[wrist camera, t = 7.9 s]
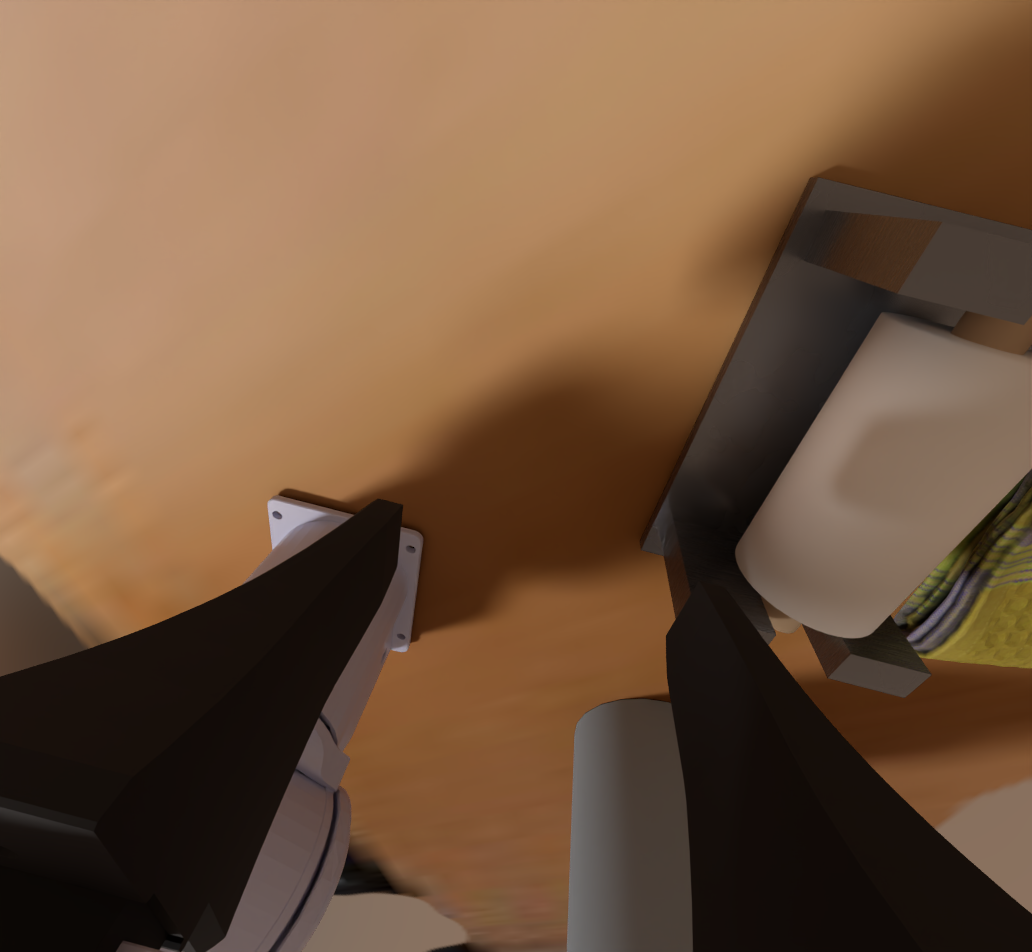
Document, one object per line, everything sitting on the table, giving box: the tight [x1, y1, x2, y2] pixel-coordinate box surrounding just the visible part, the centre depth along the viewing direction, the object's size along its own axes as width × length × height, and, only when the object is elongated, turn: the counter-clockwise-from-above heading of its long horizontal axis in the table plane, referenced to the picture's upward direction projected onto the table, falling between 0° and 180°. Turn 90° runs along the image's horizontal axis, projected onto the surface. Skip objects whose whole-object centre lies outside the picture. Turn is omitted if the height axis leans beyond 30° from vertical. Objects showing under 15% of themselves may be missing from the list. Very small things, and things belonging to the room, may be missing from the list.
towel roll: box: [735, 311, 1032, 638], centre depth 15 cm, size 13×5×5 cm, turn 168°
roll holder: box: [640, 177, 1032, 698], centre depth 15 cm, size 15×10×6 cm, turn 168°
